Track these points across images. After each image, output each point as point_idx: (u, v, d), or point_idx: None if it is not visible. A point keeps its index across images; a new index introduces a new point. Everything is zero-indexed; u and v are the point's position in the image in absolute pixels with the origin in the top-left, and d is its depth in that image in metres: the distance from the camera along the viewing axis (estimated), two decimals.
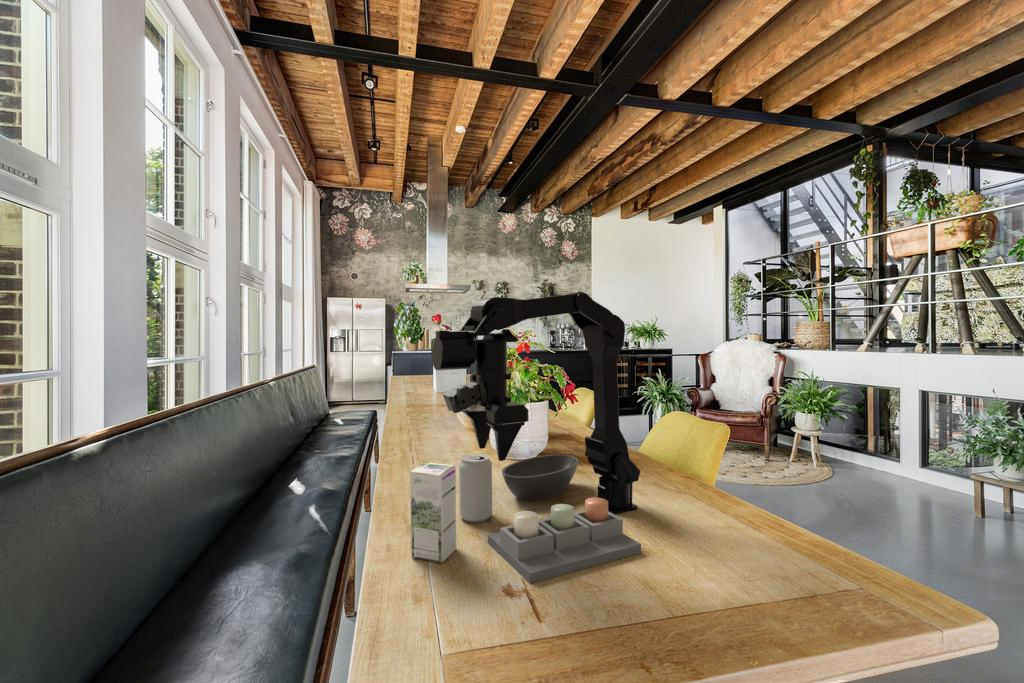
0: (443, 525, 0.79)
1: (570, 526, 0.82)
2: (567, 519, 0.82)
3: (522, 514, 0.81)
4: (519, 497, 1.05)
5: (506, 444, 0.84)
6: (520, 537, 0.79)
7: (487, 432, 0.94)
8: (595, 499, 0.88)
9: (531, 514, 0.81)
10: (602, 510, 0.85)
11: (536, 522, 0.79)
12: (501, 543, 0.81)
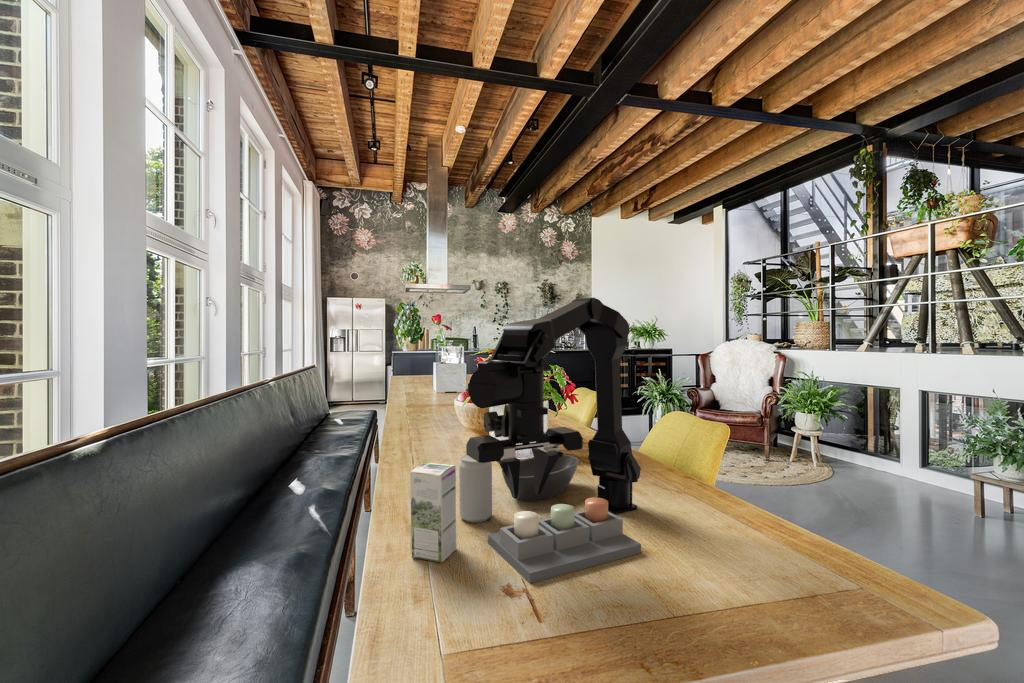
0: (443, 525, 0.79)
1: (570, 526, 0.82)
2: (567, 519, 0.82)
3: (522, 514, 0.81)
4: (519, 497, 1.05)
5: (509, 481, 0.78)
6: (520, 537, 0.79)
7: (540, 478, 0.80)
8: (595, 499, 0.88)
9: (531, 514, 0.81)
10: (602, 510, 0.85)
11: (536, 522, 0.79)
12: (501, 543, 0.81)
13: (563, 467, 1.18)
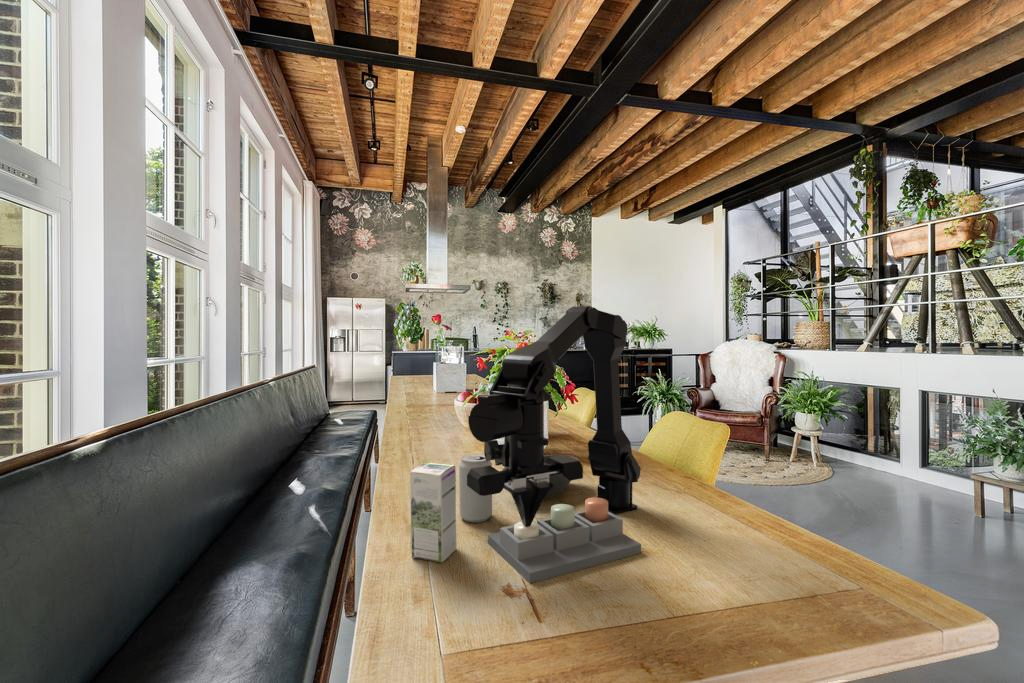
0: (443, 525, 0.79)
1: (570, 526, 0.82)
2: (567, 519, 0.82)
3: (522, 524, 0.81)
4: None
5: (520, 510, 0.79)
6: None
7: (530, 510, 0.79)
8: (595, 499, 0.88)
9: (531, 524, 0.81)
10: (602, 510, 0.85)
11: (536, 532, 0.79)
12: (501, 543, 0.81)
13: None
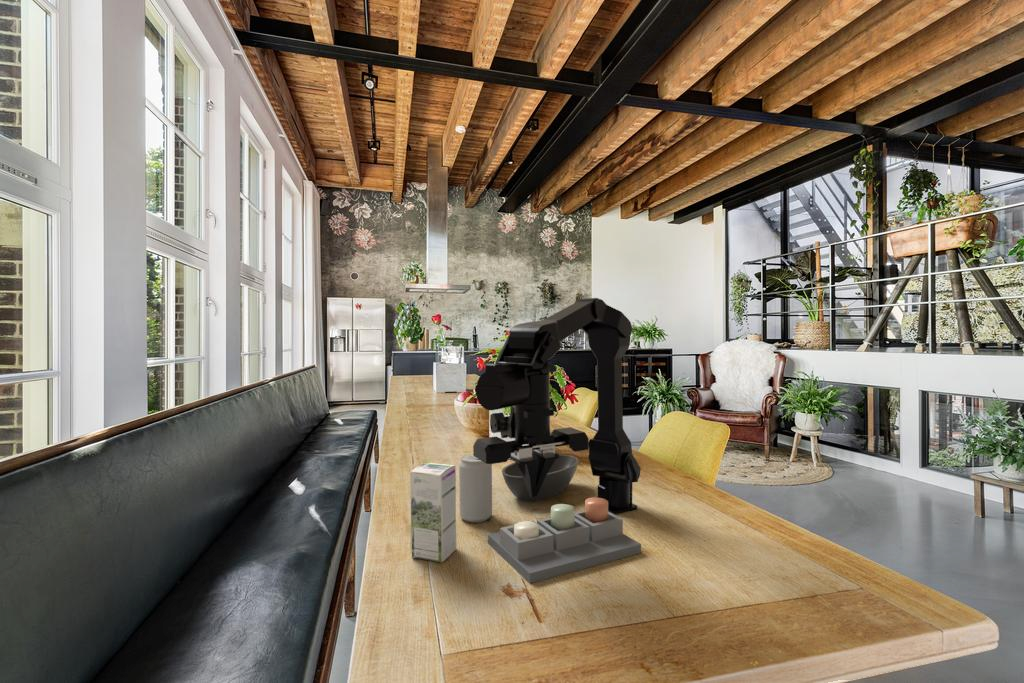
0: (443, 525, 0.79)
1: (570, 526, 0.82)
2: (567, 519, 0.82)
3: (522, 524, 0.81)
4: (519, 496, 1.05)
5: (527, 480, 0.80)
6: None
7: (536, 480, 0.80)
8: (595, 499, 0.88)
9: (531, 524, 0.81)
10: (602, 510, 0.85)
11: (536, 533, 0.79)
12: (501, 543, 0.81)
13: (563, 467, 1.18)
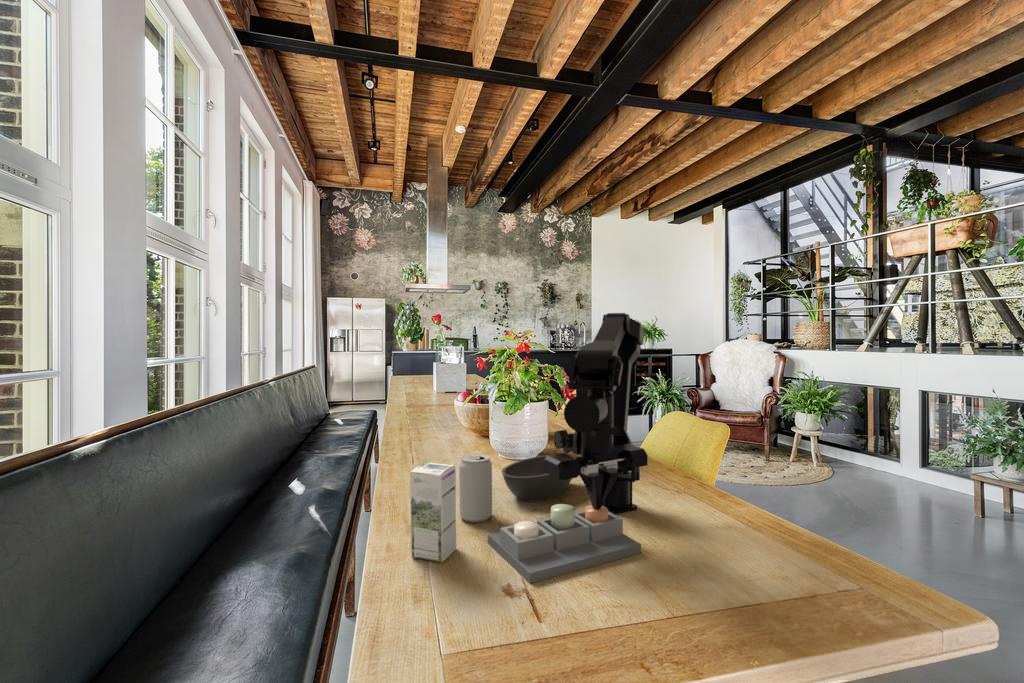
0: (443, 525, 0.79)
1: (570, 526, 0.82)
2: (567, 519, 0.82)
3: (522, 524, 0.81)
4: (519, 497, 1.05)
5: (592, 494, 0.86)
6: None
7: (601, 494, 0.86)
8: None
9: (531, 524, 0.81)
10: (602, 518, 0.85)
11: (536, 533, 0.79)
12: (501, 543, 0.81)
13: None
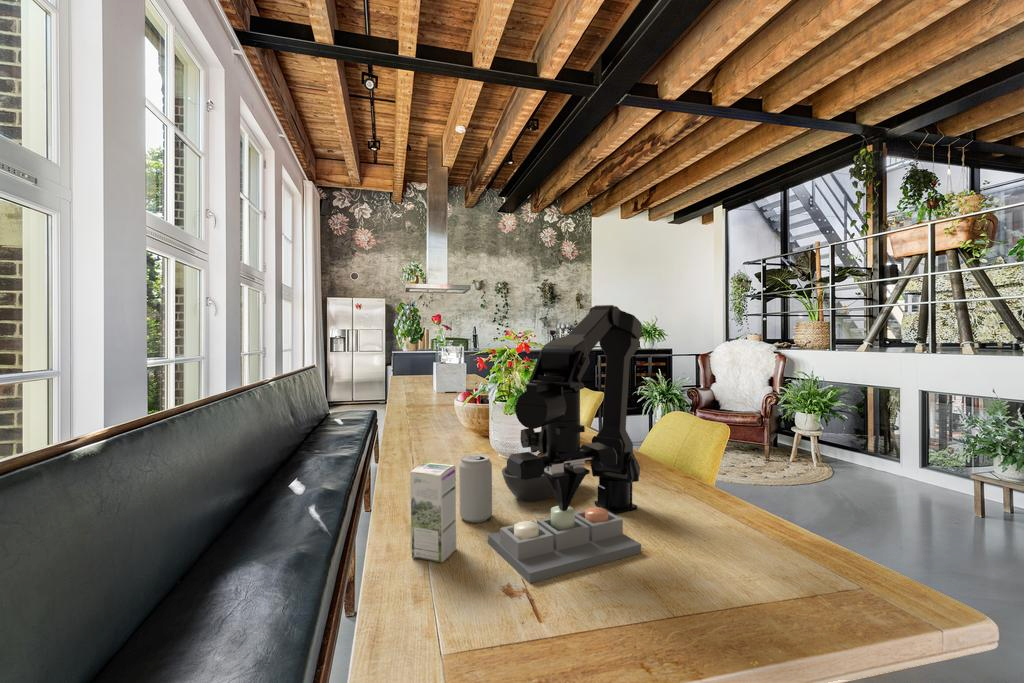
0: (443, 525, 0.79)
1: (570, 528, 0.82)
2: (567, 520, 0.82)
3: (522, 524, 0.81)
4: (519, 497, 1.05)
5: (558, 494, 0.82)
6: None
7: (567, 494, 0.82)
8: (595, 509, 0.88)
9: (531, 524, 0.81)
10: (602, 520, 0.85)
11: (536, 533, 0.79)
12: (501, 543, 0.81)
13: None
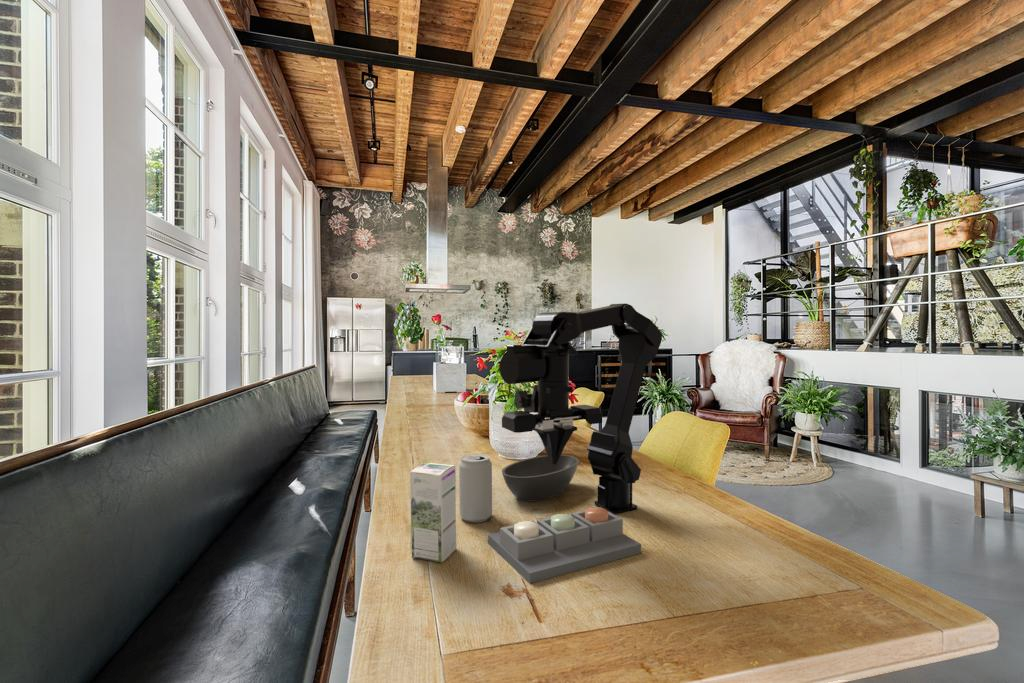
0: (443, 525, 0.79)
1: None
2: None
3: (522, 524, 0.81)
4: (520, 497, 1.05)
5: (548, 449, 0.91)
6: None
7: (557, 449, 0.91)
8: (595, 509, 0.88)
9: (531, 524, 0.81)
10: (602, 520, 0.85)
11: (536, 533, 0.79)
12: (501, 543, 0.81)
13: (563, 467, 1.18)
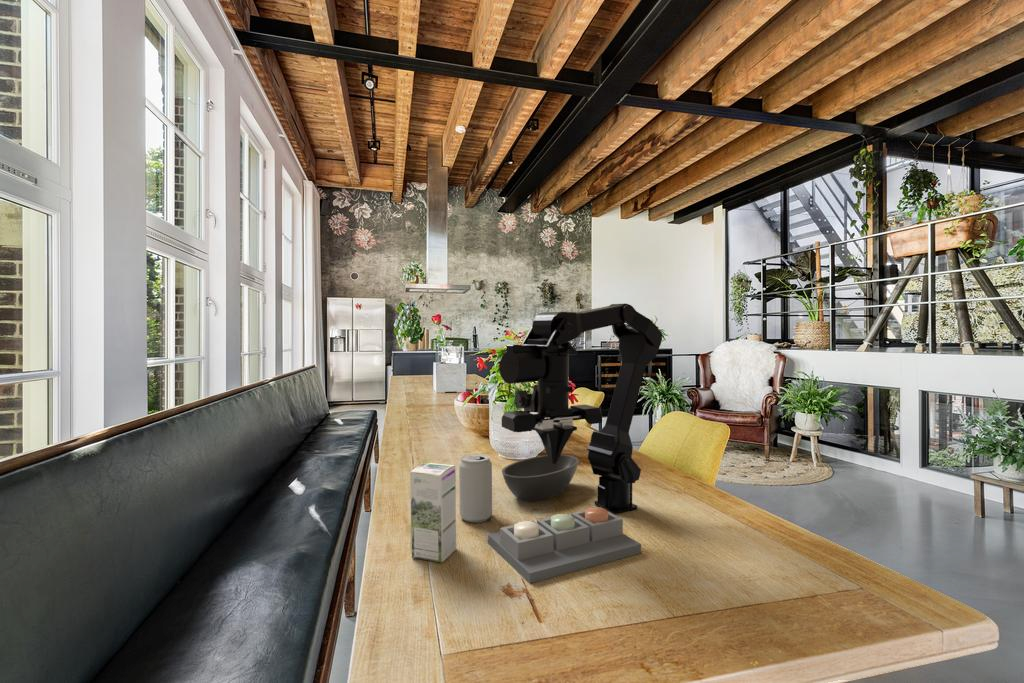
0: (443, 525, 0.79)
1: None
2: None
3: (522, 524, 0.81)
4: (520, 497, 1.05)
5: (548, 449, 0.91)
6: None
7: (557, 449, 0.91)
8: (595, 509, 0.88)
9: (531, 524, 0.81)
10: (602, 520, 0.85)
11: (536, 533, 0.79)
12: (501, 543, 0.81)
13: (563, 467, 1.18)
